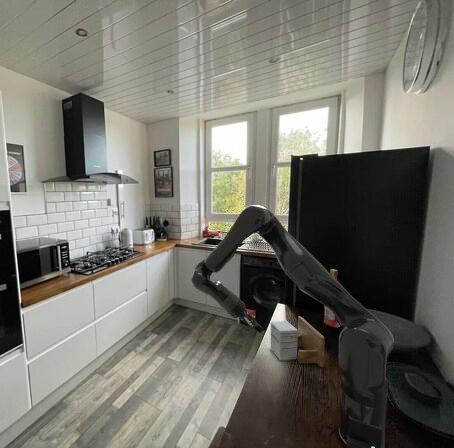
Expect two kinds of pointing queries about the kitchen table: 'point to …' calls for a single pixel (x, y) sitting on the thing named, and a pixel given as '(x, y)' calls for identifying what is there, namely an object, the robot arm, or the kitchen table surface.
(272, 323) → the white packaging box
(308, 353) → the wooden stand
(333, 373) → the kitchen table surface
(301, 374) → the kitchen table surface
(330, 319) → the liquor
